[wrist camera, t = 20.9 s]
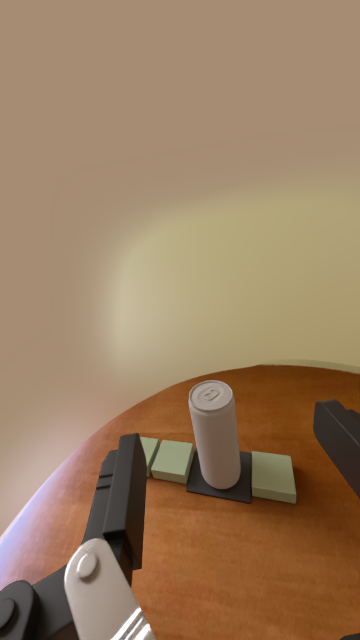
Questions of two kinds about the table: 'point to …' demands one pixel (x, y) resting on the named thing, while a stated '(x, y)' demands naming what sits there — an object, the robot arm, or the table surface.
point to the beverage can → (216, 432)
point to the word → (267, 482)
